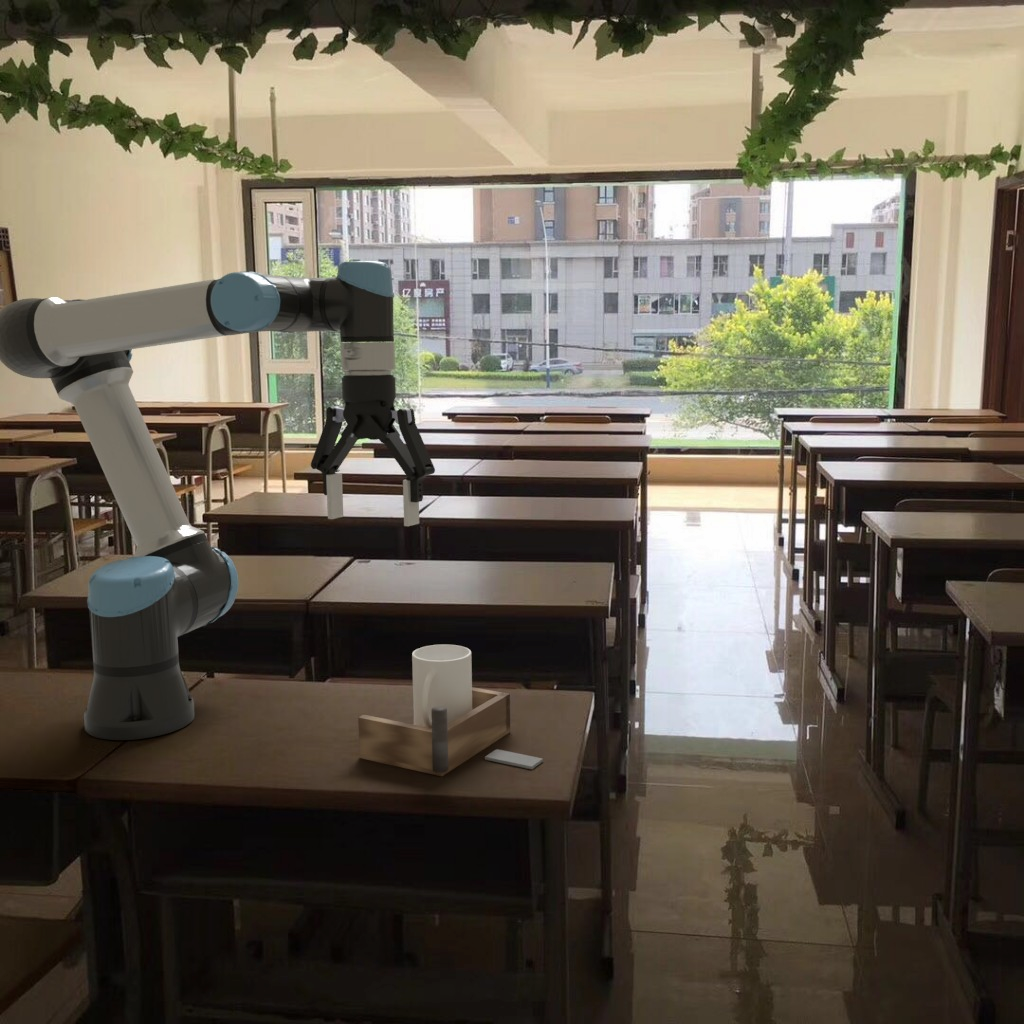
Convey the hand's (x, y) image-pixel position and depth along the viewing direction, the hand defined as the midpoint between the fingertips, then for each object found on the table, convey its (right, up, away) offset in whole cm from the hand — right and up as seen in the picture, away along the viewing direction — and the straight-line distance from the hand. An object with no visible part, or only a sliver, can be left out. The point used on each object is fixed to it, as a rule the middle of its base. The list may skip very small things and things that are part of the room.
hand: (372, 521), depth 156 cm
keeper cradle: (+10, -30, -9) cm, 33 cm away
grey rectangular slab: (+20, -31, -15) cm, 40 cm away
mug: (+10, -30, -9) cm, 33 cm away
